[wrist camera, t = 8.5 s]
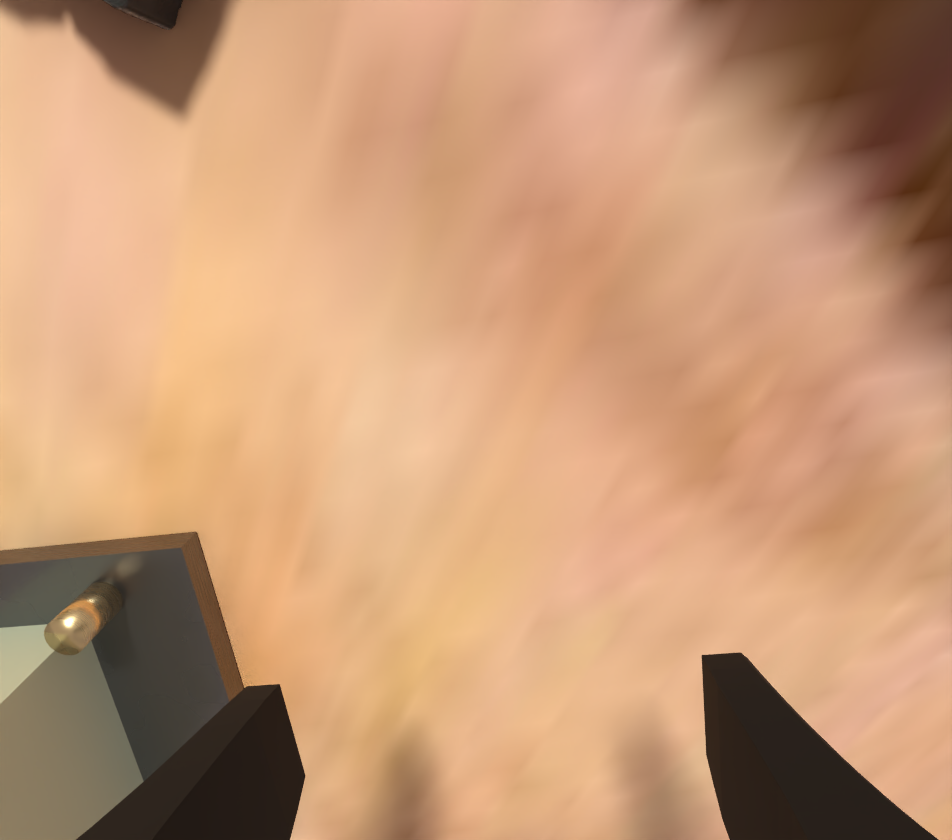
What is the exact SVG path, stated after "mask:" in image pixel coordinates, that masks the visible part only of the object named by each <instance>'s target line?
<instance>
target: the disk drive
mask: <svg viewBox="0 0 952 840" xmlns="http://www.w3.org/2000/svg"><path fill="white" fill-rule="evenodd" d="M103 1H105V2H106V3H108V4H109V5H111V6H112V7H114V8H116V9H119V10H121V11H122V12H124V13H127V14H129V15H131V16H133V17H136V18H139V19H141V20H144V21H146V22H148V23H152V24H154V25H157V26H159V27H161V28H163V29H168V30H169V29H171V28H172V27H173V26H174V25H175V23H176V19H177V13H178V10H179V9H180V8H181V4H182V0H103Z"/></svg>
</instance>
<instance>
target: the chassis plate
mask: <svg viewBox="0 0 952 840" xmlns="http://www.w3.org/2000/svg"><path fill="white" fill-rule="evenodd" d="M44 624H47V626H46V627H45V630H44V637H45V640H46V642H47V644H48V645H49V646H50V647H51V648H52V649H53V650H55V651H56V652H58V653H60V654H63V655H75V654H78V653H79V652H81V651H82V650H83V649H84V648H85V646H86V645H87V644H88V643H89V642H90V641H92V644H93V647H94V649H95V652H96V655H97V657H98V660H99V663H100V666H101V668H102V671H103V674H104V676H105V679H106V682H107V684H108V687H109V690H110V692H111V695H112V698H113V700H114V703H115V706H116V708H117V711H118V714H119V717H120V719H121V722H122V725H123V727H124V730H125V733H126V735H127V738H128V741H129V743H130V746H131V749H132V751H133V754H134V757H135V759H136V762H137V765H138V768H139V770H140V773H141V776H142V778H143V781H145V780H146V779H147V778H148V777H149V776H150V775H152V774H153V773H154V772H155V771H156V770H157V769H158V768H159V767H160V766H161V765H162V764H163V763H164V762H166V761H167V760H168V759H169V758H170V757H171V756H172V755H173V754H174V753H175V752H176V751H177V750H178V749H180V748H181V747H182V746H183V745H184V744H185V743H186V742H187V741H188V740H189V739H190V738H191V737H192V736H193V735H194V734H196V733H197V732H198V731H199V730H200V729H201V728H202V727H203V726H204V725H205V724H206V723H207V722H208V721H209V720H210V719H211V718H212V717H213V716H215V715H216V714H217V713H218V712H219V711H220V710H221V709H222V708H223V707H224V706H225V705H226V704H227V703H228V702H230V701H231V700H232V699H233V698H234V697H235V696H236V695H237V694H239V693H240V692H241V691H242V690H243V689H244V688H243V685H242V682H241V678H240V675H239V672H238V668H237V665H236V662H235V658H234V655H233V652H232V649H231V645H230V642H229V639H228V635H227V632H226V629H225V625H224V622H223V619H222V615H221V612H220V609H219V606H218V602H217V599H216V596H215V592H214V589H213V586H212V582H211V579H210V576H209V572H208V569H207V566H206V563H205V559H204V556H203V553H202V549H201V546H200V543H199V539H198V536H197V533H196V532H189V533H179V534H169V535H158V536H148V537H138V538H127V539H117V540H107V541H96V542H86V543H76V544H65V545H55V546H45V547H35V548H24V549H14V550H4V551H0V628H6V627H18V626H31V625H44Z"/></svg>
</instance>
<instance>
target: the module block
mask: <svg viewBox="0 0 952 840" xmlns="http://www.w3.org/2000/svg"><path fill="white" fill-rule="evenodd" d="M46 626H47V624H44V625H31V626H18V627H6V628H0V840H76V839H77V838H78V837H80V836H81V835H82V834H83V833H84V832H86V831H87V830H88V829H89V828H91V827H92V826H93V825H94V824H95V823H96V822H98V821H99V820H100V819H101V818H102V817H103V816H105V815H106V814H107V813H108V812H109V811H110V810H111V809H113V808H114V807H115V806H116V805H117V804H118V803H120V802H121V801H122V800H123V799H124V798H125V797H126V796H128V795H129V794H130V793H131V792H132V791H133V790H134V789H136V788H137V787H138V786H139V785H140V784H141V783H143V782H144V781H143V778H142V776H141V773H140V770H139V768H138V765H137V762H136V759H135V757H134V754H133V751H132V749H131V746H130V743H129V741H128V738H127V735H126V733H125V730H124V727H123V725H122V722H121V719H120V717H119V714H118V711H117V708H116V706H115V703H114V700H113V698H112V695H111V692H110V690H109V687H108V684H107V682H106V679H105V676H104V674H103V671H102V668H101V666H100V663H99V660H98V657H97V655H96V652H95V649H94V647H93V644H92V641H90V642H89V643H88V644H87V645H86V646H85V648H84V649H83V650H82V651H81V652H79V653H78V654H75V655H63V654H60V653H58V652H56V651H55V650H53V649H52V648H51V647H50V646H49V645H48V644H47V642H46V640H45V637H44V630H45V627H46Z"/></svg>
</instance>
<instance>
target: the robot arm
mask: <svg viewBox="0 0 952 840" xmlns="http://www.w3.org/2000/svg"><path fill="white" fill-rule="evenodd" d="M702 671H703V692H704V714H705V735H706V755H707V759H708V763H709V767H710V771H711V775H712V780H713V784H714V788H715V792H716V796H717V799H718V803H719V807H720V811H721V815H722V819H723V822H724V825H725V827H726V830H727V833H728V836H729V839H730V840H938V839H937V838H935V837H934V836H933V835H932V834H930V833H929V832H928V831H927V830H925V829H924V828H923V827H921V826H920V825H919V824H918V823H917V822H915V821H914V820H913V819H912V818H910V817H909V816H908V815H907V814H906V813H904V812H903V811H902V810H901V809H900V808H898V807H897V806H896V805H895V804H894V803H893V802H891V801H890V800H889V799H888V798H887V797H886V796H884V795H883V794H882V793H881V792H880V791H879V790H878V789H877V788H875V787H874V786H873V785H872V784H871V783H870V782H869V781H867V780H866V779H865V778H864V777H863V776H862V775H861V774H860V773H858V772H857V771H856V770H855V769H854V768H853V767H852V766H851V765H850V764H849V763H848V762H847V761H846V760H844V759H843V758H842V757H841V756H840V755H839V754H838V753H837V752H836V751H835V750H834V749H833V748H832V747H831V746H830V745H829V744H828V743H827V742H826V741H825V740H824V739H823V738H822V737H821V736H820V735H819V734H818V733H817V732H816V731H815V730H814V729H813V728H812V727H811V726H809V725H808V723H807V722H806V721H805V720H804V719H803V718H802V717H801V716H800V715H799V714H798V713H797V712H796V711H795V710H794V709H793V708H792V707H791V706H790V705H789V704H788V703H787V702H786V701H785V700H784V698H783V697H782V696H781V695H780V694H779V693H778V692H777V691H776V690H775V689H774V688H773V687H772V685H771V684H770V683H769V682H768V681H767V680H766V679H765V678H764V677H763V675H762V674H761V673H760V672H759V671H758V670H757V669H756V668H755V666H754V665H753V664H752V663H751V662H750V661H749V659H748V658H747V657H745V656H744V655H743V654H742V653H727V654H713V655H702ZM304 779H305V773H304V769H303V766H302V762H301V758H300V755H299V751H298V748H297V744H296V741H295V737H294V734H293V730H292V727H291V723H290V719H289V716H288V712H287V709H286V705H285V702H284V698H283V695H282V691H281V687H280V684H276V685H261V686H247V687H246V688H244V689H243V690H242V691H241V692H240V693H239V694H237V695H236V696H235V697H234V698H233V699H232V700H231V701H230V702H228V703H227V704H226V705H225V706H224V707H223V708H222V709H221V710H220V711H219V712H218V713H217V714H216V715H215V716H213V717H212V718H211V719H210V720H209V721H208V722H207V723H206V724H205V725H204V726H203V727H202V728H201V729H200V730H199V731H198V732H197V733H196V734H194V735H193V736H192V737H191V738H190V739H189V740H188V741H187V742H186V743H185V744H184V745H183V746H182V747H181V748H180V749H178V750H177V751H176V752H175V753H174V754H173V755H172V756H171V757H170V758H169V759H168V760H167V761H166V762H164V763H163V764H162V765H161V766H160V767H159V768H158V769H157V770H156V771H155V772H154V773H153V774H152V775H150V776H149V777H148V778H147V779H146V780H145V781H144V782H143V783H141V784H140V785H139V786H138V787H137V788H136V789H134V790H133V791H132V792H131V793H130V794H129V795H128V796H126V797H125V798H124V799H123V800H122V801H121V802H120V803H118V804H117V805H116V806H115V807H114V808H113V809H111V810H110V811H109V812H108V813H107V814H106V815H105V816H103V817H102V818H101V819H100V820H99V821H98V822H96V823H95V824H94V825H93V826H92V827H91V828H89V829H88V830H87V831H86V832H84V833H83V834H82V835H81V836H80V837H78V838H77V839H76V840H290V837H291V833H292V829H293V825H294V822H295V818H296V814H297V810H298V806H299V801H300V797H301V793H302V788H303V784H304Z"/></svg>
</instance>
